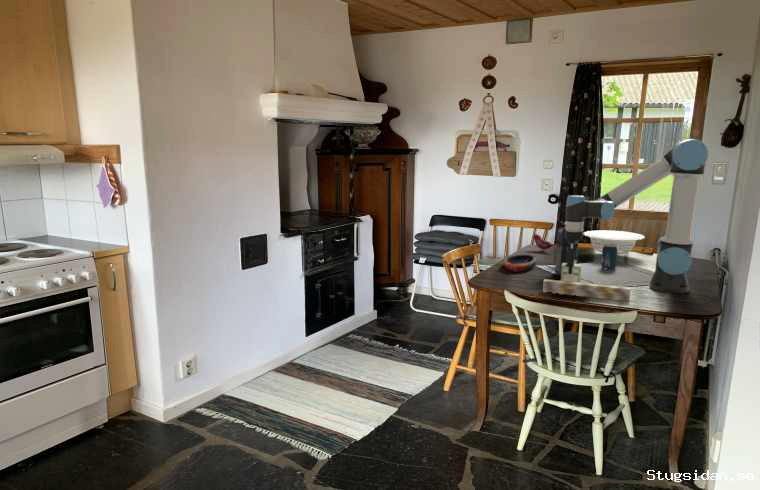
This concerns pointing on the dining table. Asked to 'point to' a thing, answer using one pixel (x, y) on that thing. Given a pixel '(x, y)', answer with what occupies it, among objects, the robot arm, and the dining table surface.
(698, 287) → the dining table surface
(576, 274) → the sage carton
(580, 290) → the price rail shelf lip
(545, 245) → the decorative bird figurine
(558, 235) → the beverage bottle
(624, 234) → the colander
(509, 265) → the dish
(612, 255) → the soda can
